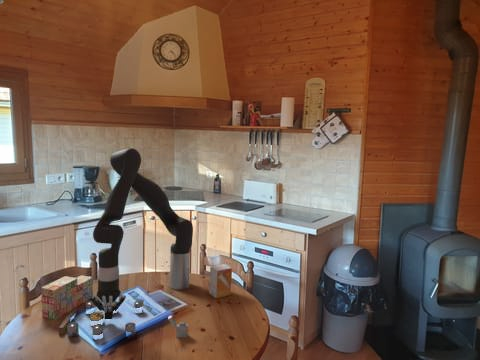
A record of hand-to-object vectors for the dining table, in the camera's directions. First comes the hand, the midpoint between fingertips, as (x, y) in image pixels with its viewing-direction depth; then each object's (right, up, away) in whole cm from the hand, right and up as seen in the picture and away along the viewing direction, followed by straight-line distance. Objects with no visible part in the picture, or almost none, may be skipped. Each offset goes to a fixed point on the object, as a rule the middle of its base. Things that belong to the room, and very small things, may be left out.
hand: (108, 320), depth 141 cm
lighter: (+27, -4, -7) cm, 28 cm away
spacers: (0, -1, 0) cm, 1 cm away
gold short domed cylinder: (-4, -1, 0) cm, 5 cm away
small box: (+41, 0, +30) cm, 50 cm away
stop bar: (-15, -1, -1) cm, 15 cm away
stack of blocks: (-21, +1, +12) cm, 24 cm away
